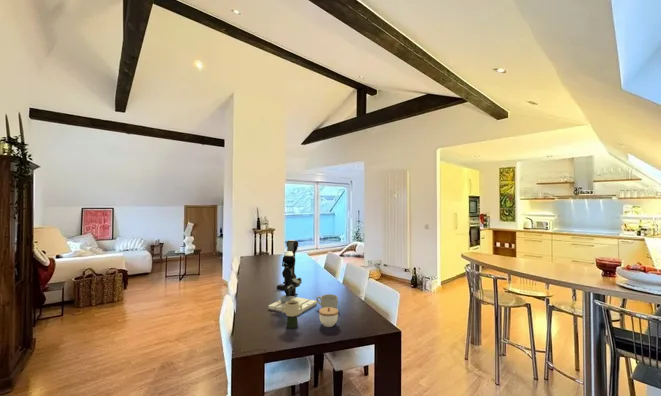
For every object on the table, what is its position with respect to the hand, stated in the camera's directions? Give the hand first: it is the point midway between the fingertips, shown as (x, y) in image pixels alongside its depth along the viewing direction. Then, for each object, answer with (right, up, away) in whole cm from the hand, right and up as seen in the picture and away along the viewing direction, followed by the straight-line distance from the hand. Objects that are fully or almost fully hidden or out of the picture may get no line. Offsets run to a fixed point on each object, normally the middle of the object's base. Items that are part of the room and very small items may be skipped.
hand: (288, 297), depth 195 cm
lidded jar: (+27, -4, -32) cm, 42 cm away
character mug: (+7, -4, -36) cm, 36 cm away
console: (+4, -4, -5) cm, 8 cm away
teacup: (+26, -4, -9) cm, 28 cm away
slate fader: (-2, -3, -3) cm, 4 cm away
